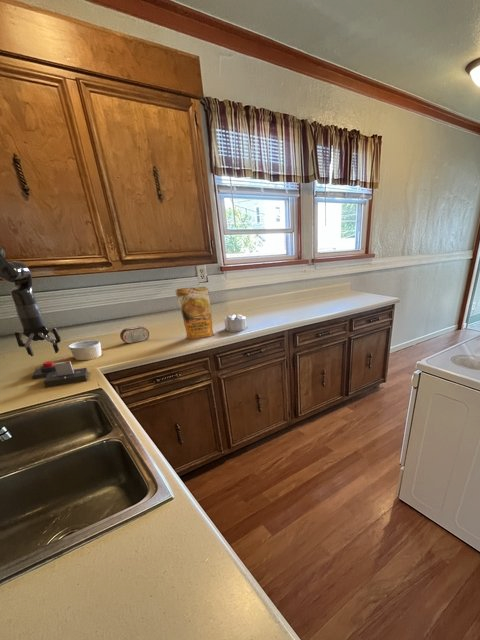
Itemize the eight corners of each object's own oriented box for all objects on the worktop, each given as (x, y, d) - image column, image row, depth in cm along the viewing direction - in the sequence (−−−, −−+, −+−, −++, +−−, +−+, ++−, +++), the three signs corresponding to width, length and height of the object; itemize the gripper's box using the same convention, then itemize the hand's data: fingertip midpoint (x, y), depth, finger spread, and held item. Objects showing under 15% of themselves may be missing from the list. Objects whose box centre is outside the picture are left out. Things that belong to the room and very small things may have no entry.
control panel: (46, 388, 129) (43, 381, 127) (50, 379, 136) (47, 372, 135) (87, 382, 134) (85, 374, 133) (88, 373, 142) (86, 367, 141)
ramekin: (69, 357, 161) (64, 344, 158) (97, 351, 170) (93, 338, 167) (78, 364, 153) (74, 349, 150) (108, 356, 162) (104, 343, 159)
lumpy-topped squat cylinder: (224, 328, 211) (222, 315, 207) (243, 326, 217) (242, 312, 213) (229, 332, 203) (228, 318, 199) (249, 329, 209) (248, 315, 205)
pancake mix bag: (182, 337, 192) (173, 288, 179) (213, 333, 201) (207, 285, 188) (185, 340, 187) (176, 289, 174) (217, 335, 196) (211, 287, 183)
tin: (149, 338, 190) (146, 324, 186) (151, 340, 188) (148, 325, 184) (122, 344, 181) (118, 329, 177) (124, 345, 179) (120, 330, 175)
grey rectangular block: (58, 376, 132) (53, 364, 130) (58, 374, 134) (54, 362, 131) (73, 373, 134) (69, 361, 132) (74, 372, 136) (70, 360, 134)
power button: (43, 368, 138) (42, 364, 137) (45, 365, 141) (43, 362, 140) (53, 367, 140) (52, 363, 139) (55, 364, 143) (53, 360, 142)
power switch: (33, 380, 136) (30, 371, 134) (37, 373, 143) (34, 364, 141) (67, 375, 141) (64, 366, 139) (69, 368, 148) (66, 360, 146)
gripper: (52, 311, 136) (65, 349, 143) (10, 315, 130) (25, 354, 138) (50, 315, 130) (63, 354, 138) (5, 319, 124) (22, 359, 132)
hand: (44, 354), depth 138 cm, fingers open, 8 cm apart
